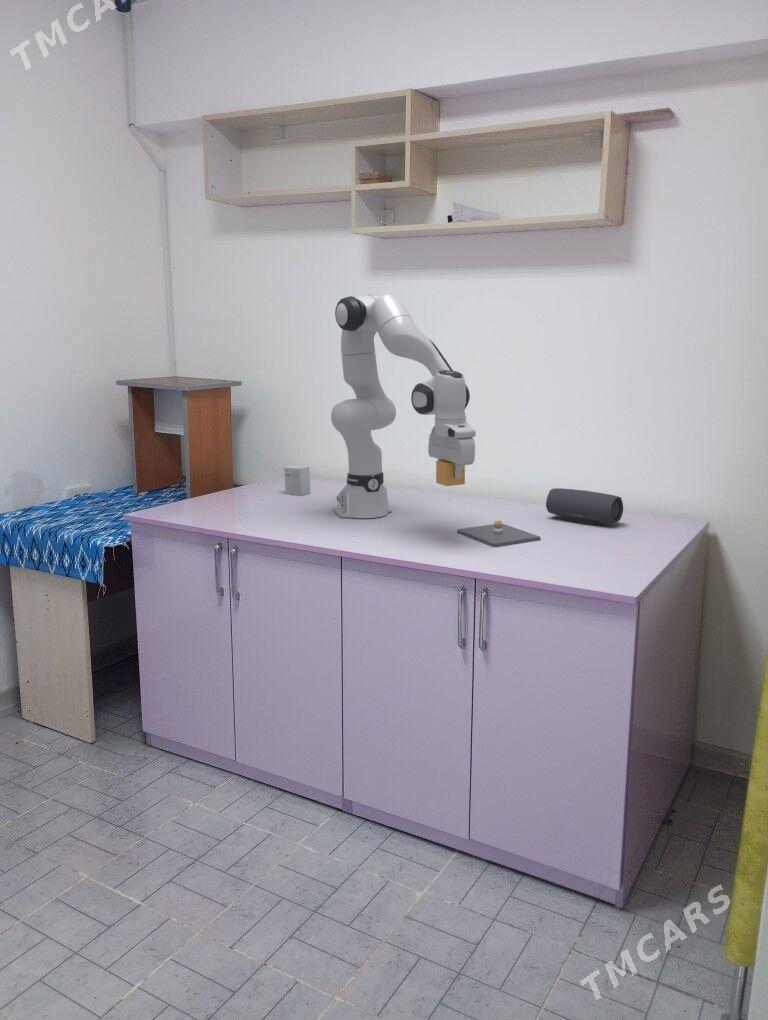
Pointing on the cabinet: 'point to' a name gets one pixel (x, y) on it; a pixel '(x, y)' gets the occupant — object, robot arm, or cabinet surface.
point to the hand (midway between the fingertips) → (450, 476)
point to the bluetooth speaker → (584, 506)
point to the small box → (297, 480)
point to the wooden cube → (448, 473)
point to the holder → (498, 534)
